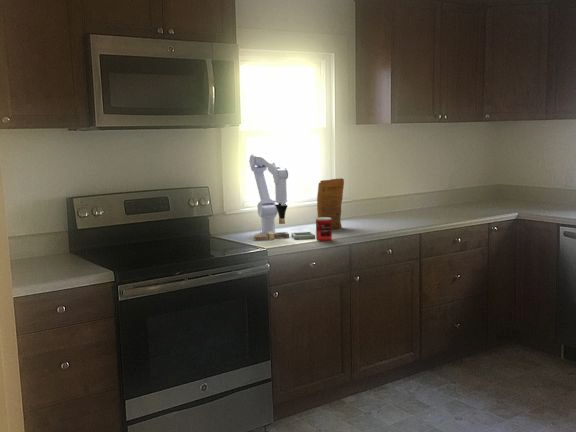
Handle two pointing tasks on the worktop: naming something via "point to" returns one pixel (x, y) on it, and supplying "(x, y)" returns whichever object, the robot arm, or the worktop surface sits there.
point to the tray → (303, 235)
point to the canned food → (324, 229)
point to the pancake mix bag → (330, 200)
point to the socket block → (281, 235)
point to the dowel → (281, 221)
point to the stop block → (271, 235)
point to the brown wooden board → (260, 237)
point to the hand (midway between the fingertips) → (281, 218)
